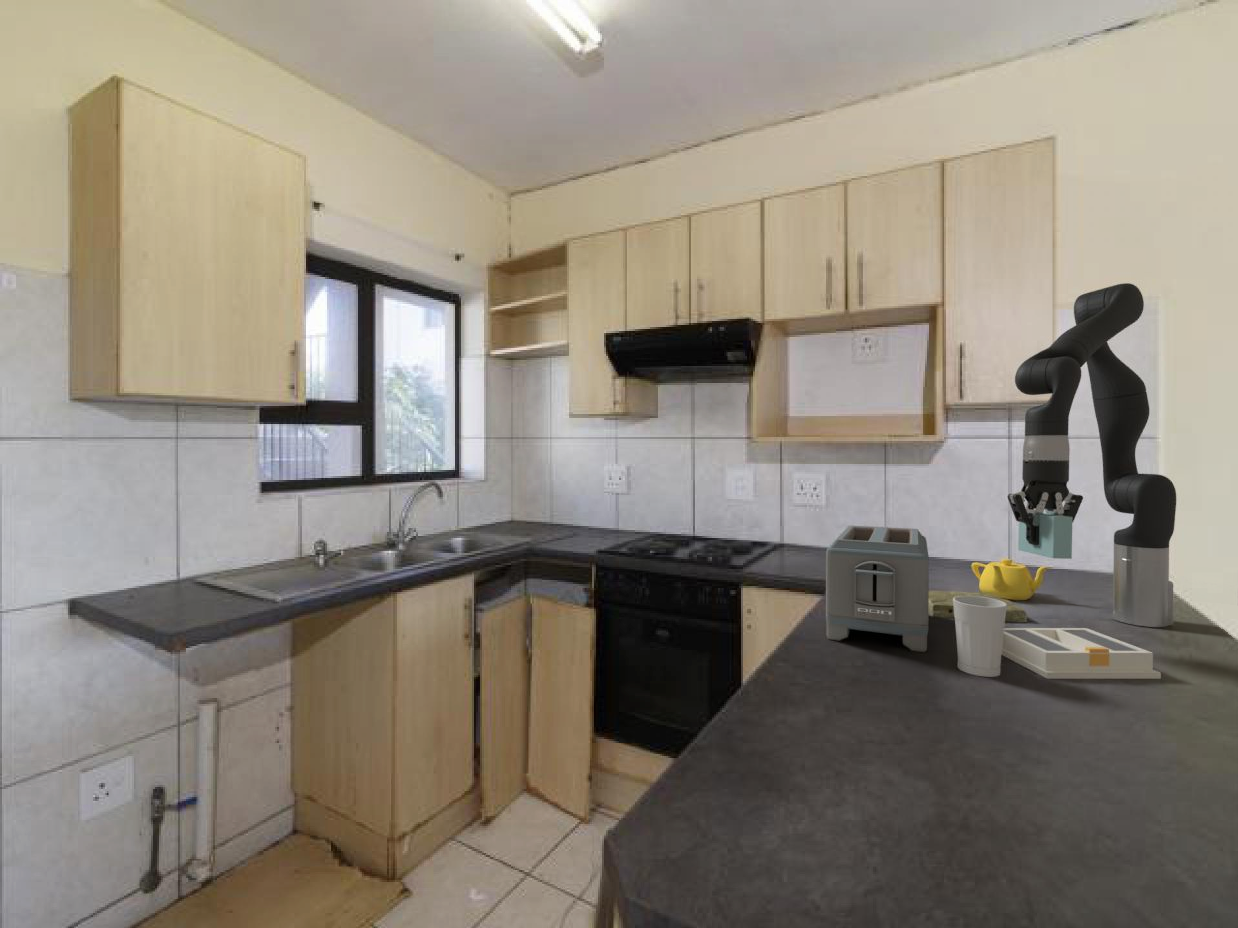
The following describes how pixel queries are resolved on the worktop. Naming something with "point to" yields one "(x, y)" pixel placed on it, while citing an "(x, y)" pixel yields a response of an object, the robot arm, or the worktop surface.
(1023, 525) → the panel
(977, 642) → the cup
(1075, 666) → the tray
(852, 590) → the toaster
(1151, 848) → the worktop surface
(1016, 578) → the teapot
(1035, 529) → the robot arm
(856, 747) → the worktop surface
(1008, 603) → the decorative tile
